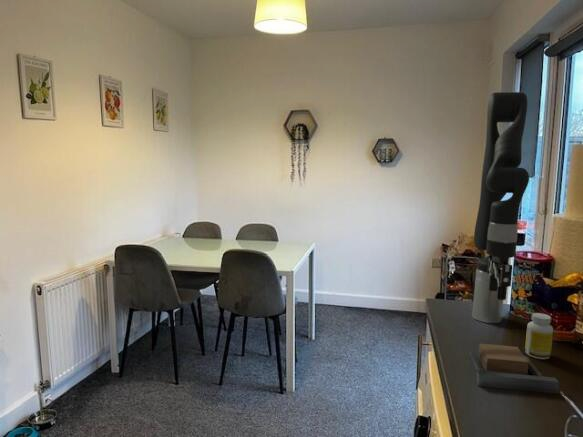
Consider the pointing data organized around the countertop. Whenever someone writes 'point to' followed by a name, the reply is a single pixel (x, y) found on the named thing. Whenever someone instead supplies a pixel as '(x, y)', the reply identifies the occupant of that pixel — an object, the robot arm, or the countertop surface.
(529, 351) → the pill bottle
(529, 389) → the dark grey tray
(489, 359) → the slab
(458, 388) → the countertop surface
